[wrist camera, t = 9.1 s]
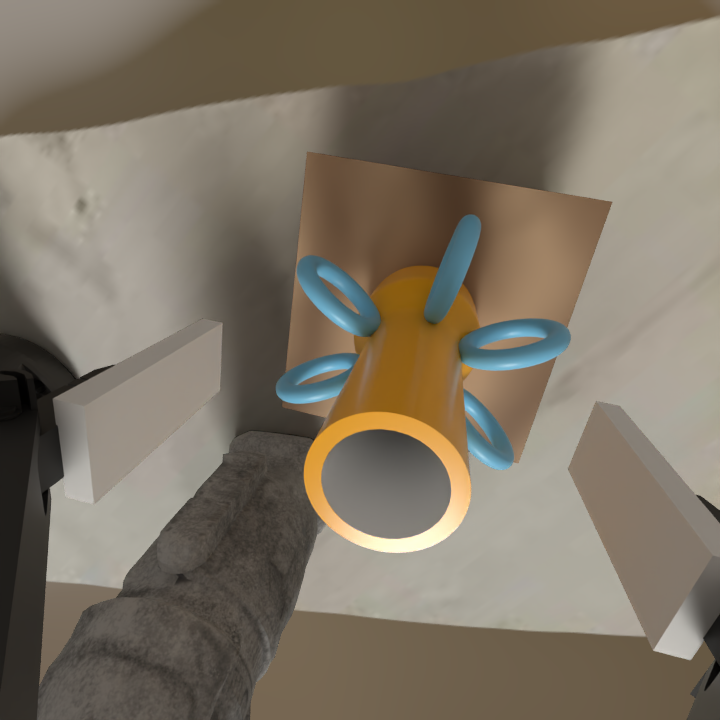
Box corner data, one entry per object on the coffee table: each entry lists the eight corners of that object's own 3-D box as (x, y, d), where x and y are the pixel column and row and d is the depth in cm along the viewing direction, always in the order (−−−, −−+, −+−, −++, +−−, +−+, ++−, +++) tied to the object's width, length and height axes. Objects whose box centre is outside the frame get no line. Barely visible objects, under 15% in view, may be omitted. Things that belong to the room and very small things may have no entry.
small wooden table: (316, 362, 35) (282, 407, 28) (342, 161, 29) (307, 151, 22) (502, 404, 33) (518, 463, 26) (568, 199, 28) (612, 201, 20)
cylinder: (342, 417, 27) (235, 646, 14) (292, 252, 24) (86, 333, 10) (548, 386, 24) (683, 644, 10) (522, 191, 21) (666, 191, 7)
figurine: (243, 534, 44) (16, 913, 21) (228, 408, 38) (-96, 727, 15) (337, 548, 42) (203, 978, 19) (335, 418, 37) (148, 793, 14)
